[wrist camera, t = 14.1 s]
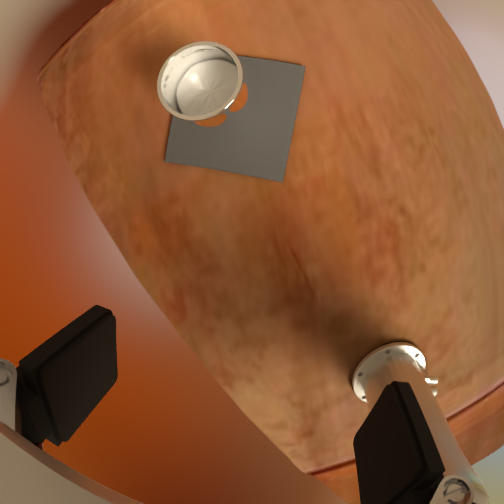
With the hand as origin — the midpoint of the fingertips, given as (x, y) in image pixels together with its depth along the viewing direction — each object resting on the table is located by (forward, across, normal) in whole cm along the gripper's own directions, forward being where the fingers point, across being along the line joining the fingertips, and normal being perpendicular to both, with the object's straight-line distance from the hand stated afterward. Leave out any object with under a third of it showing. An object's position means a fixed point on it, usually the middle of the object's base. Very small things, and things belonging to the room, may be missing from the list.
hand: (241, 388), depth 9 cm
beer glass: (+28, +9, -13) cm, 32 cm away
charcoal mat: (+29, +9, -13) cm, 33 cm away
